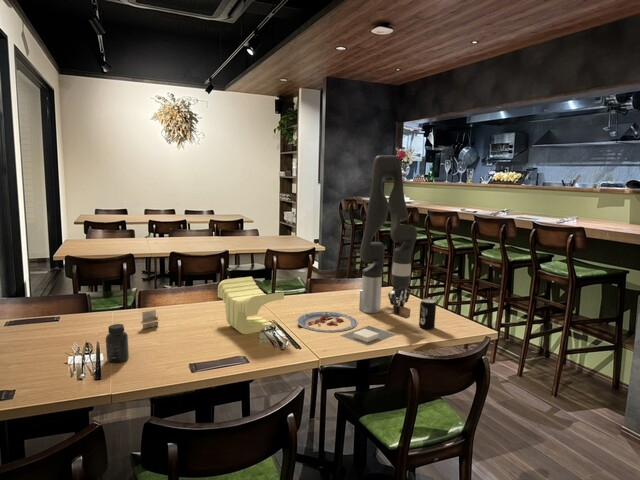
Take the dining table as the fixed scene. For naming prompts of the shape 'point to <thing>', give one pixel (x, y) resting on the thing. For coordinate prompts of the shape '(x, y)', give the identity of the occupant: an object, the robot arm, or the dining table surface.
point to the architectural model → (149, 319)
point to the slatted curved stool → (245, 303)
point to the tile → (365, 335)
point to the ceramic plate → (325, 316)
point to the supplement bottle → (117, 344)
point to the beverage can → (427, 314)
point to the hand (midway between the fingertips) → (398, 313)
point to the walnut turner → (402, 311)
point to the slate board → (382, 333)
